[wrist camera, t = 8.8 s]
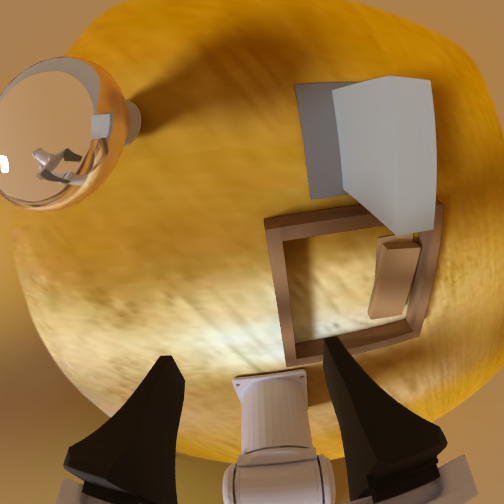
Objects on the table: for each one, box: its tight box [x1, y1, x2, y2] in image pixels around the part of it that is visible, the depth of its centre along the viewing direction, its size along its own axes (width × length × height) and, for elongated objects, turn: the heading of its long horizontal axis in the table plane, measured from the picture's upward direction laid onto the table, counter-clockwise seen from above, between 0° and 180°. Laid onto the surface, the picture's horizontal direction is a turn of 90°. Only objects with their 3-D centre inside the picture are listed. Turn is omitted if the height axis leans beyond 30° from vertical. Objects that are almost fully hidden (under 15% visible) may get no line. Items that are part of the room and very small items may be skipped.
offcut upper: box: [368, 242, 421, 320], centre depth 22 cm, size 7×3×1 cm, turn 3°
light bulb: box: [0, 56, 141, 213], centre depth 11 cm, size 7×7×12 cm
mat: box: [294, 82, 360, 200], centre depth 17 cm, size 8×7×1 cm
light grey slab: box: [332, 76, 437, 236], centre depth 13 cm, size 7×2×8 cm, turn 10°
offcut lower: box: [374, 233, 413, 284], centre depth 22 cm, size 8×4×1 cm, turn 10°
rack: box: [264, 200, 444, 367], centre depth 21 cm, size 14×14×2 cm
